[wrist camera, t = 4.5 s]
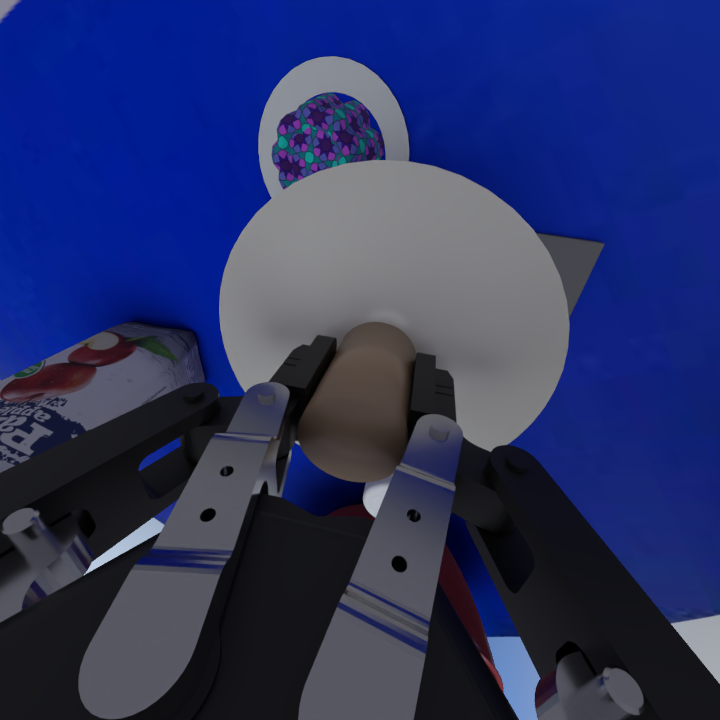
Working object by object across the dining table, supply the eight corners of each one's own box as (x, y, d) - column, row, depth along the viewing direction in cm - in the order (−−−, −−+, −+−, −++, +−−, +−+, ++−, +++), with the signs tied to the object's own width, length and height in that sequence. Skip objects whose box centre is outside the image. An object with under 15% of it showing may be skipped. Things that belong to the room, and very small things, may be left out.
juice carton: (215, 389, 42) (-62, 659, 19) (143, 375, 43) (-191, 607, 21) (202, 324, 37) (-187, 579, 14) (121, 311, 39) (-340, 521, 16)
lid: (633, 184, 10) (837, 208, 5) (495, 482, 18) (519, 618, 12) (213, 140, 12) (39, 123, 7) (248, 428, 19) (177, 527, 14)
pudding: (256, 215, 30) (223, 224, 25) (271, 37, 23) (230, 8, 19) (383, 257, 29) (371, 274, 25) (434, 87, 23) (431, 69, 18)
